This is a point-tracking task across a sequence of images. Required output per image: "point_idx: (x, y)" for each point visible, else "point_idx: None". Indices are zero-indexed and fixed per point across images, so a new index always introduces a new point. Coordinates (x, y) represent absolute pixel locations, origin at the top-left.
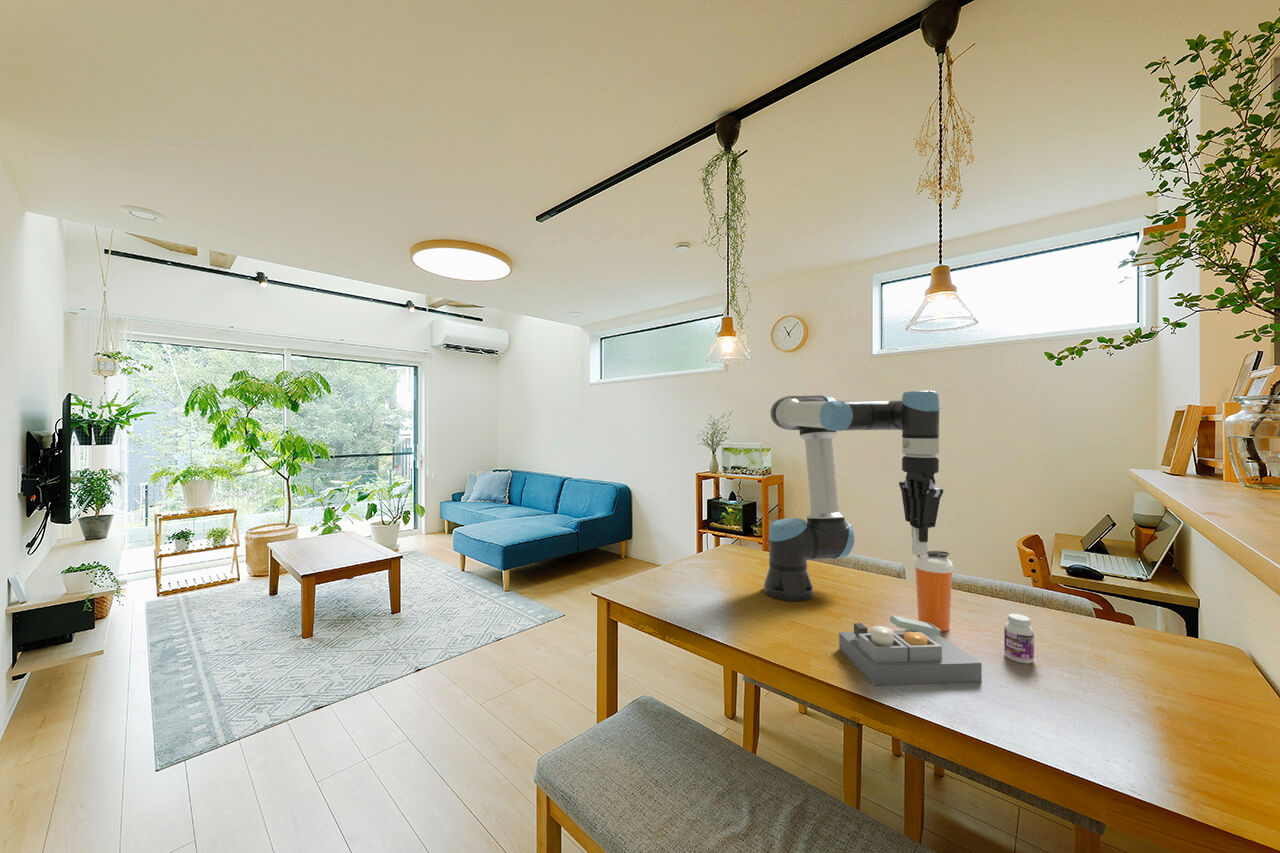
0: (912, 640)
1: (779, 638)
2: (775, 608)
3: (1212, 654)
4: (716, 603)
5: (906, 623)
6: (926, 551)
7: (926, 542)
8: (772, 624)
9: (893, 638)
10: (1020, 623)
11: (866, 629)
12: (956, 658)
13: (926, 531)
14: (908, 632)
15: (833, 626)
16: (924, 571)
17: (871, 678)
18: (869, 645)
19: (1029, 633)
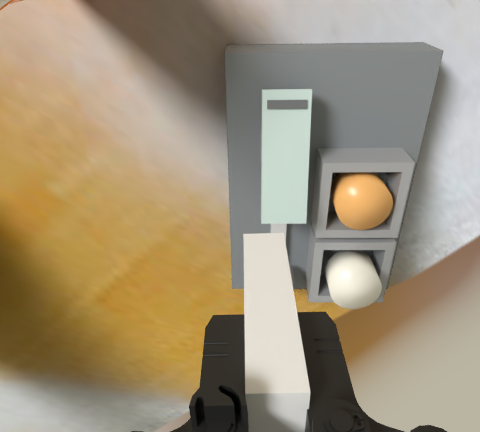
0: (379, 222)
1: (186, 340)
2: (27, 310)
3: None
4: (27, 392)
5: (306, 201)
6: (286, 250)
7: (291, 291)
8: (121, 335)
9: (371, 265)
10: None
11: (293, 281)
12: (403, 103)
13: (350, 395)
14: (340, 211)
15: (116, 233)
16: (8, 1)
17: None
18: None
19: None
